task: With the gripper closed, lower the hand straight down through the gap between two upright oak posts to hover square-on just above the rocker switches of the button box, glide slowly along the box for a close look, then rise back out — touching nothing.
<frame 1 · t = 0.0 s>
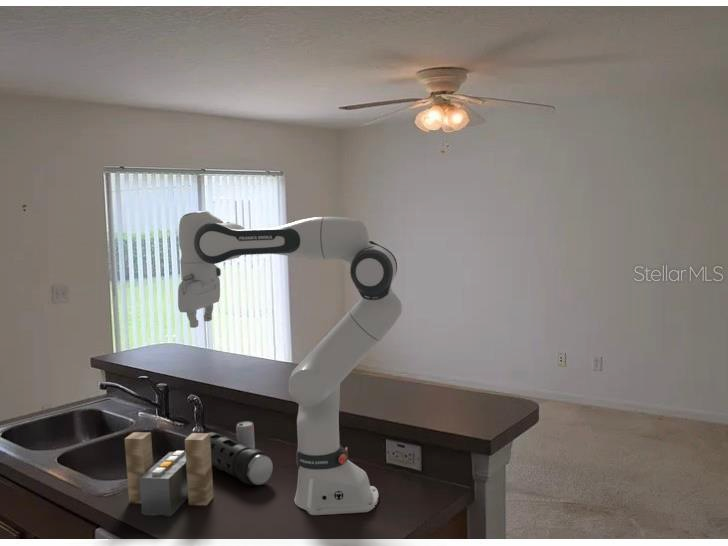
hand: (201, 324, 172), 48 cm above the counter, tool pointing down, fingers open, 8 cm apart
muzzle brake: (235, 476, 190), on the counter
oak post a: (201, 500, 174), on the counter
button box: (171, 499, 175), on the counter
oak post b: (142, 499, 176), on the counter
energy drink: (246, 461, 201), on the counter
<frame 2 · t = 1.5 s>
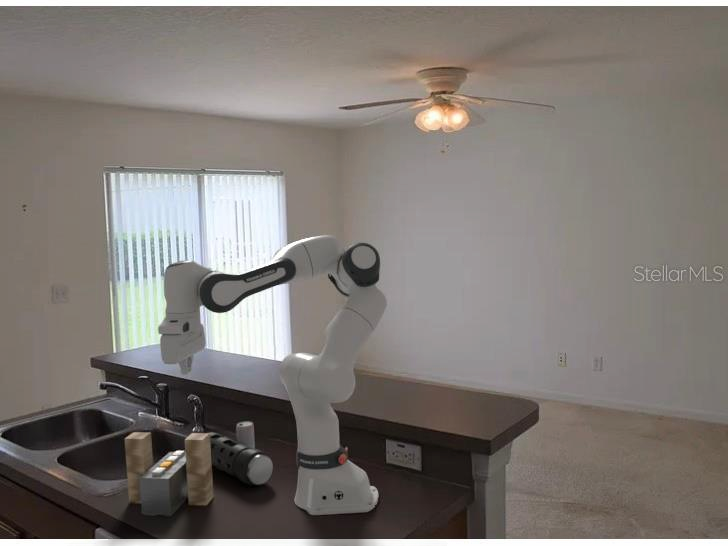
hand: (186, 373, 171), 35 cm above the counter, tool pointing down, fingers closed
nothing on the counter moved.
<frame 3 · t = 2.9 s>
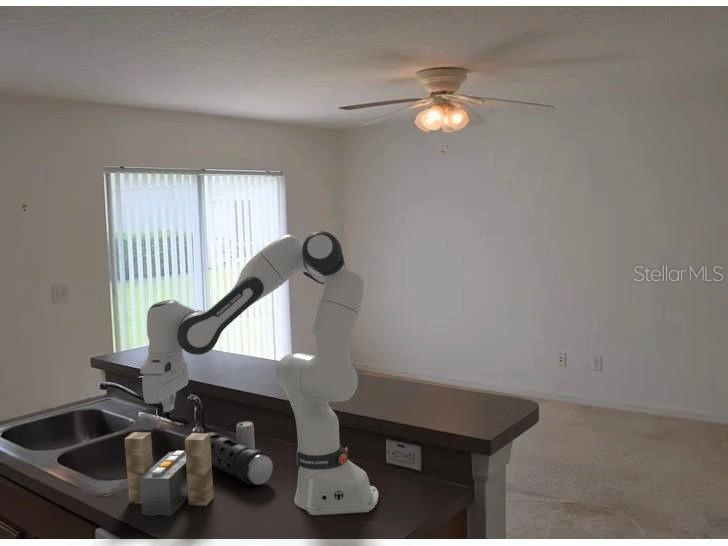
hand: (168, 410, 175), 24 cm above the counter, tool pointing down, fingers closed
nothing on the counter moved.
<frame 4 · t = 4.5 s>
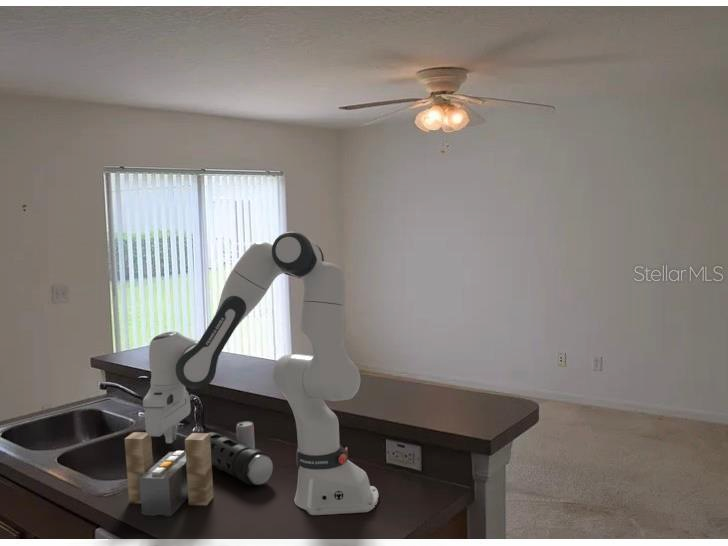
hand: (171, 441, 176), 16 cm above the counter, tool pointing down, fingers closed
nothing on the counter moved.
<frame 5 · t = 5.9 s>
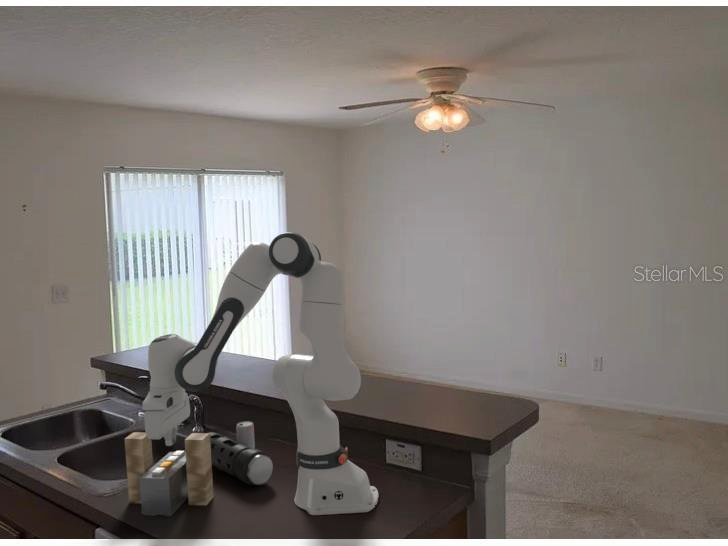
hand: (171, 443, 175), 15 cm above the counter, tool pointing down, fingers closed
nothing on the counter moved.
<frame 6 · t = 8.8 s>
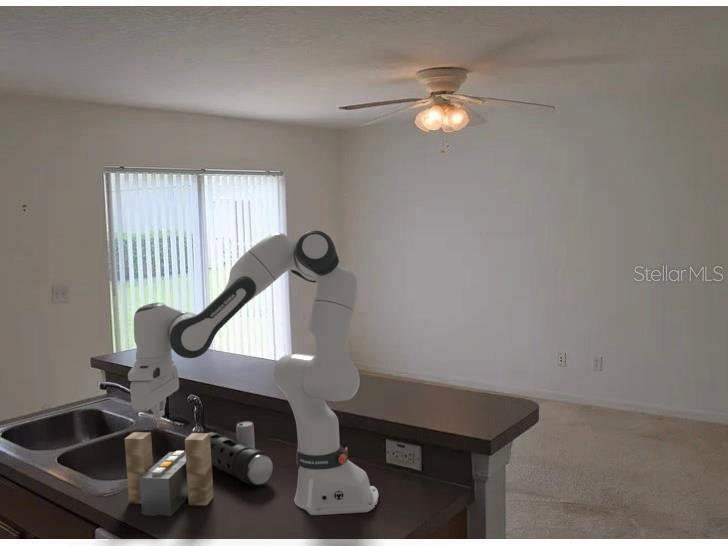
hand: (159, 417, 169), 25 cm above the counter, tool pointing down, fingers closed
nothing on the counter moved.
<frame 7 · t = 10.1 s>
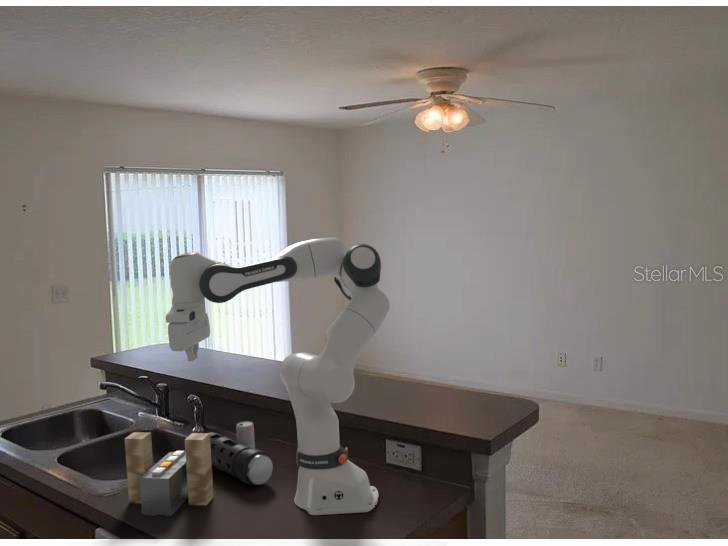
hand: (192, 360, 179), 37 cm above the counter, tool pointing down, fingers closed
nothing on the counter moved.
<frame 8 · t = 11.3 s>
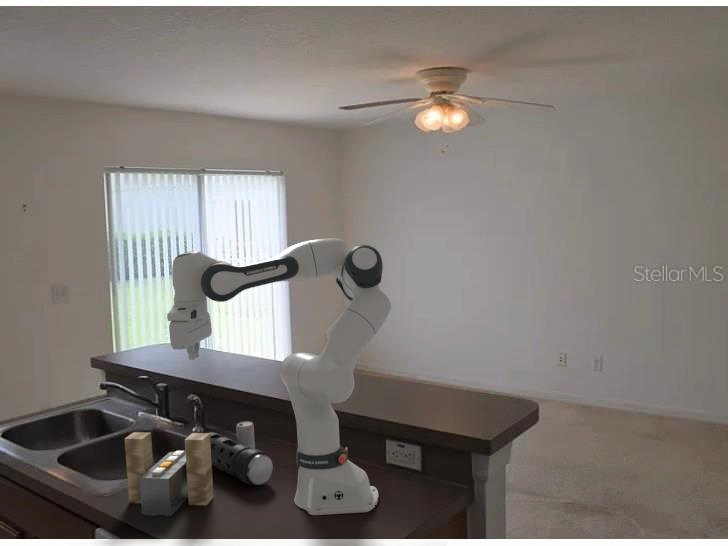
hand: (193, 358, 180), 37 cm above the counter, tool pointing down, fingers closed
nothing on the counter moved.
at the end: oak post a moved 0.0 cm from its start; oak post b moved 0.0 cm from its start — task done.
